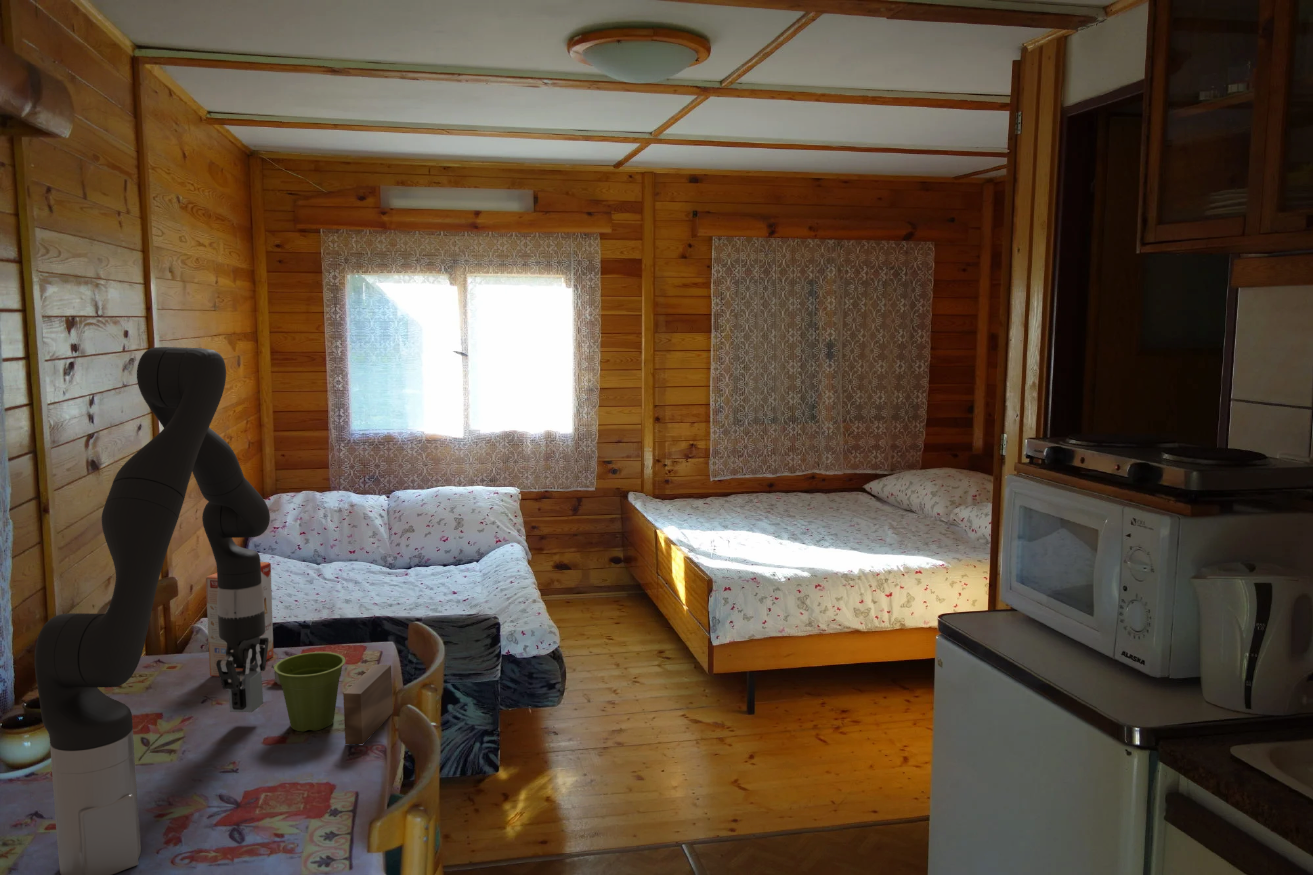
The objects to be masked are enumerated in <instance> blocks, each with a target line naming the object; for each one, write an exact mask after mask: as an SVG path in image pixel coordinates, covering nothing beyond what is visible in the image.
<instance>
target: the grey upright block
mask: <svg viewBox="0 0 1313 875" xmlns="http://www.w3.org/2000/svg"><path fill="white" fill-rule="evenodd" d="M237 676H238V680H239V682H240V676H239V675H237ZM262 678H263V676H262V671H249V674H248V675H247V676H246V679H245V682H246V683H245V692H246V708H245V709H243V710H234V709H233V708H232V692H231V690H230V689H228V701H229V712H230V713H253V712H255V711H256V710H257V709H258V708H260V707H261V706H262V705H263V704H264V696H263V695H264V694H263V692H264V691H263V679H262ZM228 682H229V679H228Z"/></svg>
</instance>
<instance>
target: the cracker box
mask: <svg viewBox="0 0 1313 875" xmlns="http://www.w3.org/2000/svg"><path fill="white" fill-rule="evenodd" d="M260 562H261V583H262V589H263V594H264V610H265V629H266V630H265V633H264V634H263V635H262V636H260V637H264V638H268V639H269V642H268V651H267V660H269V659H271V658H273V657H274V656H275V654H274V631H273V630H274V628H273V625H274V623H273V595H272V590H273V589H272V566H271V562H267V561H260ZM205 589H206V591H205V592H206V614H207V615H206V616H207V636H208V637H207V639H208V661H209V676H210V677H215V678H216V677H219V678H220V676H219V673H218V669H217V666H216V663H217V661H218V660H223V659H224V658H225V657H226V648H227V643H226V642H225V641H224V640H222V639H220V637H219V626H218V609H217V595H218V580H217V572H216V573H213V574H210V575H207V576H206V577H205ZM260 658H261V657H260ZM235 669H236V670H239V671H242V670H243V669H242V668H235Z"/></svg>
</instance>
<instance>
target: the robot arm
mask: <svg viewBox="0 0 1313 875" xmlns="http://www.w3.org/2000/svg"><path fill="white" fill-rule="evenodd" d="M226 379H227V366H226V362H225V359H224V357H223V356H222V355H221V354H220V353H219V352H218V351H216V350H214V349H208V348H202V347H175V346H158V347H157V346H156V347H151V348H149V349H147V350H146V351H144V352H143V354H142V355H141V356H140V357H139V360H138V363H137V368H136V381H137V385H138V390H139V392H140V394H141V396H142V398H143V400H144V402H145V403H146V405H147V406H148V407H149V409H150V410H151V412H152V413H153V415H154V416H155V417H156V419H157V421H158V422H159V423H160V425H161V426H162V427H163V429H162V430H161V431H160V432H159V433H157V435H155V436H154V437H153V438H152V439H151V440H150V441H149V442H148V443H146V444H145V445H144V446H142V447H141V448H140V449H139V450H137V452H135V453H134V454H133V455H132V456H130V458H129V459H128V460H126V462H125V463H124V464H123V465H122V466H121V467H120V468H119V470H118V472H116V475H115V476H114V479H113V481H112V484H111V486H110V490H109V492H108V495H107V498H106V501H105V503H104V507H103V508H102V514H101V528H102V533H103V535H104V539H105V542H106V545H107V549H108V551H109V553H110V556H111V558H112V562H113V565H114V570H115V582H114V589H113V592H112V596H111V600H110V603H109V605H108V608H107V610H106V612H105V613H89V612H88V613H85V612H84V613H81V612H80V613H78V612H77V613H75V612H74V613H73V612H72V613H61V614H60V613H59V614H58V615H56V616H55V615H54V616H53V617H51V618H50V619H48V621H46V623H44V625H43V626H42V628H41V630H40V631H39V633H38V636H37V639H36V642H35V648H34V649H35V650H34V670H35V671H34V672H35V679H36V687H37V692H38V699H39V706H40V713H41V721H42V724H43V726H44V728H45V729H46V731H47V733H48V736H49V745H50V746H49V748H50V760H51V776H52V778H51V779H52V788H53V790H52V791H53V803H54V804H53V805H54V816H55V828H56V829H55V830H56V843H57V851H58V853H57V854H58V865H59V874H60V875H115V874H118V873H120V872H122V871H125V870H127V869H131V868H133V867H135V866H138V865H139V857H140V856H141V854H142V848H141V845H142V844H141V830H140V820H139V804H138V803H139V802H138V788H137V787H138V786H137V773H136V760H135V743H134V742H135V741H134V726H133V714H132V713H133V712H132V711H131V708H130V707H129V706H128V705H127V704H126V703H123V702H121V701H119V700H116V699H114V698H112V697H110V696H108V695H107V694H105V693H104V692H103V691H101V690H100V689H99V688H117V687H120V686H122V685H124V684H126V683H127V682H128V681H129V680H130V679H131V677H133V674H135V671H136V669H137V667H138V665H139V662H140V661H141V659H142V658H141V657H142V655H143V651H144V646H145V644H146V639H147V633H148V630H149V625H150V620H151V616H152V610H153V606H154V602H155V597H156V593H157V588H158V585H159V580H160V575H161V572H162V569H163V566H164V562H165V560H166V555H167V552H168V549H169V545H170V543H171V540H172V538H173V534H174V532H175V529H176V526H177V523H178V521H179V517H180V514H181V510H182V508H183V506H184V501H185V498H186V494H187V490H188V486H189V482H190V479H191V476H192V474H193V477H194V479H195V481H196V485H197V486H198V489H199V490H200V493H201V495H202V496H203V498H204V499H205V500H206V501H207V503H206V504H205V506H204V508H203V512H202V520H201V521H202V526H203V529H204V532H205V534H206V538H207V540H208V542H209V545H210V548H211V551H212V554H213V557H214V560H215V566H216V573H217V580H218V595H217V609H218V626H219V637H220V639H222V640H224V641H225V642H226V643H227V648H226V657H225V658H224V659H223V660H218V661H217V663H216V666H217V669H218V673H219V676H220V677H219V679H220V683H221V686H222V689H223V690H229V689H230V690H231V692H232V708H233V709H234V710H243V709H245V708H246V692H245V683H246V682H245V679H246V676H247V675H248V674H249V671H261V672H265V670H266V668H267V660H268V659H267V651H268V642H269V639H268V638H264V637H260V636H262V635H263V634H264V633H265V630H266V629H265V610H264V594H263V589H262V583H261V562H262V561H261V557H260V553H259V552H257V551H256V550H253V549H250V548H245V547H242V546H239V545H237V544H236V542H235V541H234V540H233V539H235V538H236V539H237V538H240V539H241V538H244V539H245V538H246V539H247V538H249V539H251V538H257V537H259V536H261V535H263V534H264V533H265V532H266V530H268V527H269V526H270V521H271V516H270V514H271V513H270V509H269V507H268V504H267V503H266V500H265V499H264V497H262V494H260V493H259V491H257V489H256V488H255V487H254V486H253V484H251V483H250V481H249V480H247V478H246V477H245V476H244V472H243V470H242V468H241V465H240V462H239V460H238V456H237V455H236V453H235V451H234V450H233V448H232V447H231V446H230V445H229V443H228V442H227V441H226V440H225V439H224V438H223V437H222V436H221V435H219V433H217V432H216V431H215V430H214V429H212V428H211V427H210V426H211V423H212V421H213V418H214V417H215V415H216V412H217V410H218V407H219V405H220V402H221V400H222V397H223V394H224V391H225V386H226ZM260 657H261V658H260ZM235 668H242V669H243V670H242V671H239V670H236V669H235ZM237 675H239V676H240V682H239V680H238V676H237ZM228 679H229V682H228Z"/></svg>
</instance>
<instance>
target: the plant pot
mask: <svg viewBox="0 0 1313 875" xmlns="http://www.w3.org/2000/svg"><path fill="white" fill-rule="evenodd" d="M345 664H346V658H345V657H344V655H341V654H339V653H336V652H330V651H329V652H328V651H319V652H318V651H316V652H313V651H312V652H307V653H306V652H305V653H300V654H295V655H291V656H289V657H285V658H283V659H281V660H279V661H278V662H277V663H275V664H274V665H275V666H274V669H273V671H274V673H275V672H276V673H277V674H278V677H279V681H280V684H279V685H280V686H281V688H282V693H283V697H284V703H285V705H286V711H287V715H288V720H289V724H290V728H291V729H293V730H294V731H297V732H307V731H314V732H315V731H320V730H323V729H325V728H328V727H330V726H331V725H332V724H333V722H334V720H335V714H336V708H337V699H338V691H339V683H340V678H341V675H342V669H343V666H344V665H345Z"/></svg>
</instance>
